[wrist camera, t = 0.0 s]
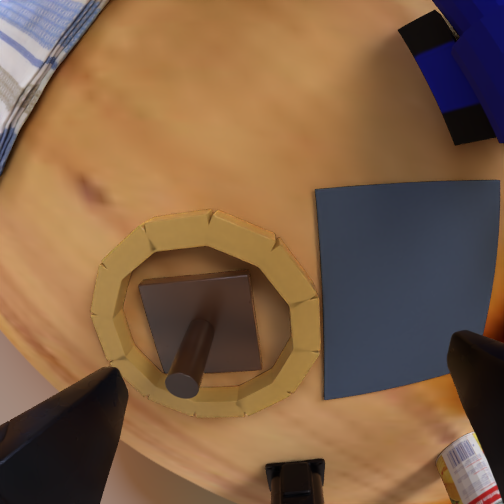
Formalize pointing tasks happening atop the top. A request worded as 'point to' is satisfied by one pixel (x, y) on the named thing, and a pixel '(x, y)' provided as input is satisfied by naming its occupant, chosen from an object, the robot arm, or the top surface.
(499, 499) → the canned food
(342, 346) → the felt mat
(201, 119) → the top surface
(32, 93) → the dish towel
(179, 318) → the peg stand
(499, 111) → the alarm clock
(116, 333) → the hoop
